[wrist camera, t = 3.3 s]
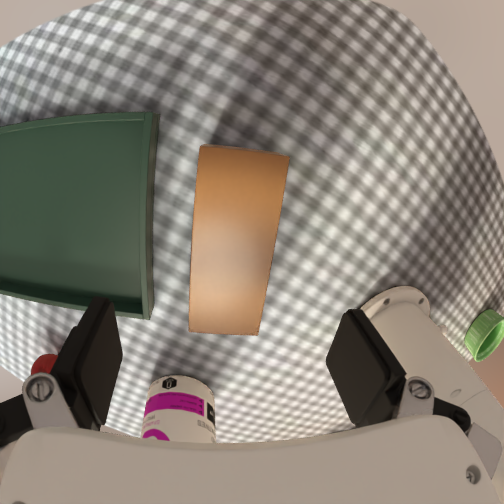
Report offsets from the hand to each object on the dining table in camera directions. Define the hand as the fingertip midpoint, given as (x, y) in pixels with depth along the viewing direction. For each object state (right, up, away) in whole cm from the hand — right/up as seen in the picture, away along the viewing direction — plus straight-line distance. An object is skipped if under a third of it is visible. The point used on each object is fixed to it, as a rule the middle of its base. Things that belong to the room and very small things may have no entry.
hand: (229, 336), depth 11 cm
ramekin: (+41, -10, +25) cm, 48 cm away
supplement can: (-8, -14, +21) cm, 26 cm away
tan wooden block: (-1, +5, +12) cm, 14 cm away
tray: (-19, +7, +10) cm, 22 cm away
